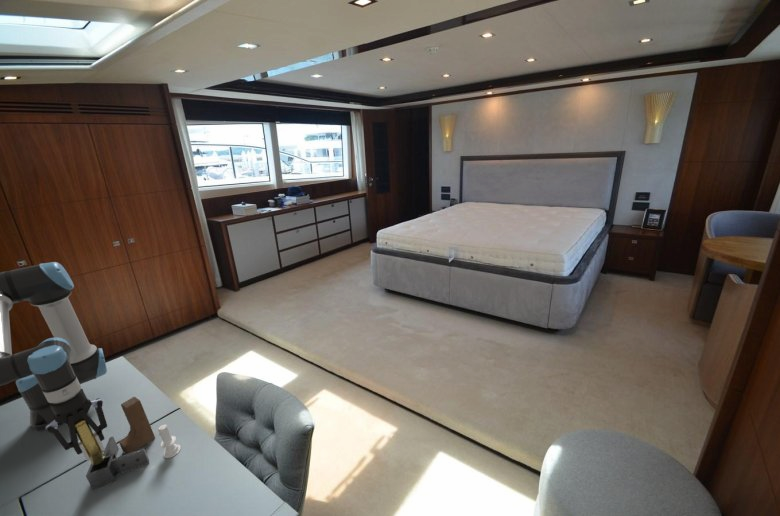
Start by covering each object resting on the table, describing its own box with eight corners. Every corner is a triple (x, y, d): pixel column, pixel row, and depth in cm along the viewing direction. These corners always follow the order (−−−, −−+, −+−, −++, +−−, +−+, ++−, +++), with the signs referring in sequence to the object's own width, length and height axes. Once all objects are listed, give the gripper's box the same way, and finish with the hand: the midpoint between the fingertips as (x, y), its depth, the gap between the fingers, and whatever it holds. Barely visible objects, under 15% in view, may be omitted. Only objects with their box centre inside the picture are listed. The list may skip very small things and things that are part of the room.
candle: (166, 461, 116) (155, 435, 112) (161, 452, 119) (151, 426, 115) (183, 450, 119) (173, 424, 115) (178, 442, 123) (168, 417, 119)
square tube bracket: (107, 452, 121) (101, 440, 119) (155, 436, 126) (150, 423, 124) (92, 489, 108) (85, 476, 106) (147, 469, 113) (141, 456, 111)
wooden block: (128, 457, 118) (110, 417, 112) (122, 451, 121) (104, 412, 115) (155, 438, 125) (140, 400, 119) (150, 433, 128) (134, 395, 122)
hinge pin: (89, 462, 108) (68, 422, 103) (103, 453, 111) (84, 413, 106) (93, 468, 106) (72, 427, 100) (107, 458, 109) (88, 418, 103)
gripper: (30, 419, 92) (65, 480, 99) (103, 383, 104) (128, 440, 112) (25, 408, 96) (58, 467, 104) (95, 375, 108) (120, 430, 116)
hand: (94, 453), depth 108 cm, fingers closed on hinge pin, 3 cm apart
